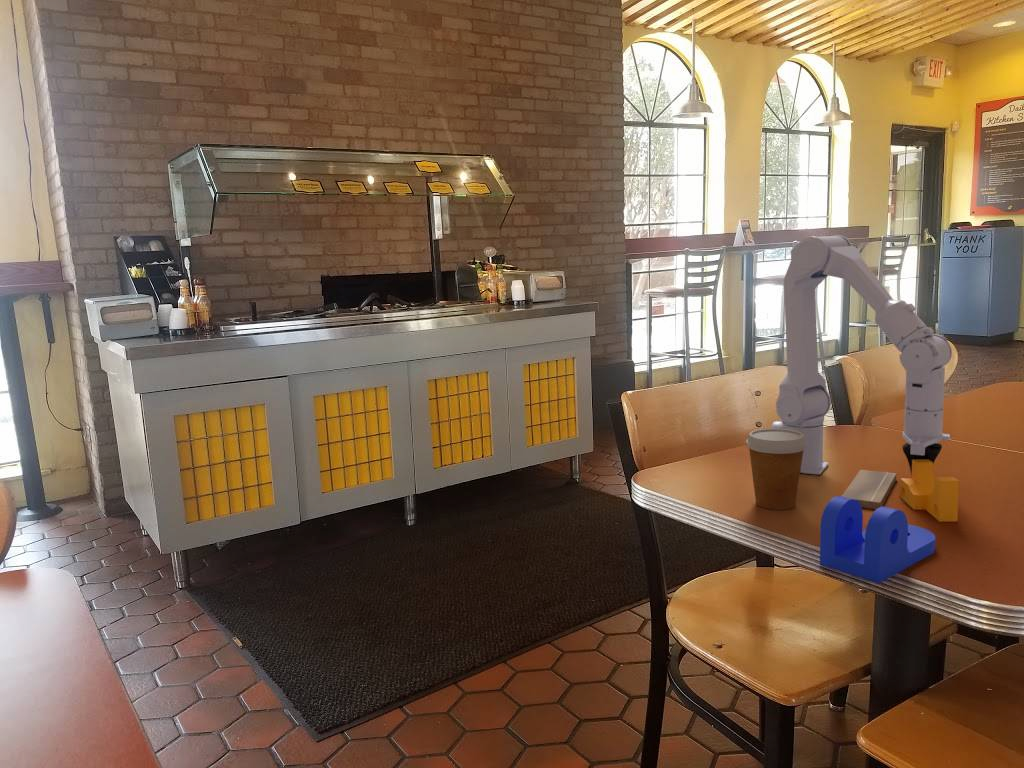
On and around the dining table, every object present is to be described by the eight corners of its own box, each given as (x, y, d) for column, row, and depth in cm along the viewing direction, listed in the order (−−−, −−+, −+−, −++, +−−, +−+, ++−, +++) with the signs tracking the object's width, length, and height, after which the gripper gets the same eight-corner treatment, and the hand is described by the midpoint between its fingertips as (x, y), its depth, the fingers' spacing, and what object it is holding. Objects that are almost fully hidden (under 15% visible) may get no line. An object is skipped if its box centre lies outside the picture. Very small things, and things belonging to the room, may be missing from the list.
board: (840, 504, 130) (840, 497, 130) (860, 475, 145) (860, 469, 145) (880, 509, 127) (880, 502, 127) (896, 479, 142) (896, 473, 141)
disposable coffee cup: (779, 517, 126) (780, 444, 124) (733, 502, 134) (733, 434, 132) (818, 505, 130) (819, 434, 128) (771, 491, 138) (772, 425, 136)
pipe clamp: (899, 496, 132) (900, 459, 131) (927, 496, 132) (928, 459, 131) (927, 521, 121) (928, 481, 120) (957, 521, 120) (959, 480, 119)
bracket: (878, 584, 101) (881, 517, 99) (819, 565, 107) (821, 502, 106) (945, 547, 111) (948, 486, 110) (888, 532, 118) (890, 474, 116)
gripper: (947, 418, 124) (943, 501, 126) (954, 401, 135) (950, 477, 138) (897, 415, 127) (894, 495, 130) (909, 398, 139) (906, 472, 142)
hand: (920, 486), depth 134 cm, fingers closed
